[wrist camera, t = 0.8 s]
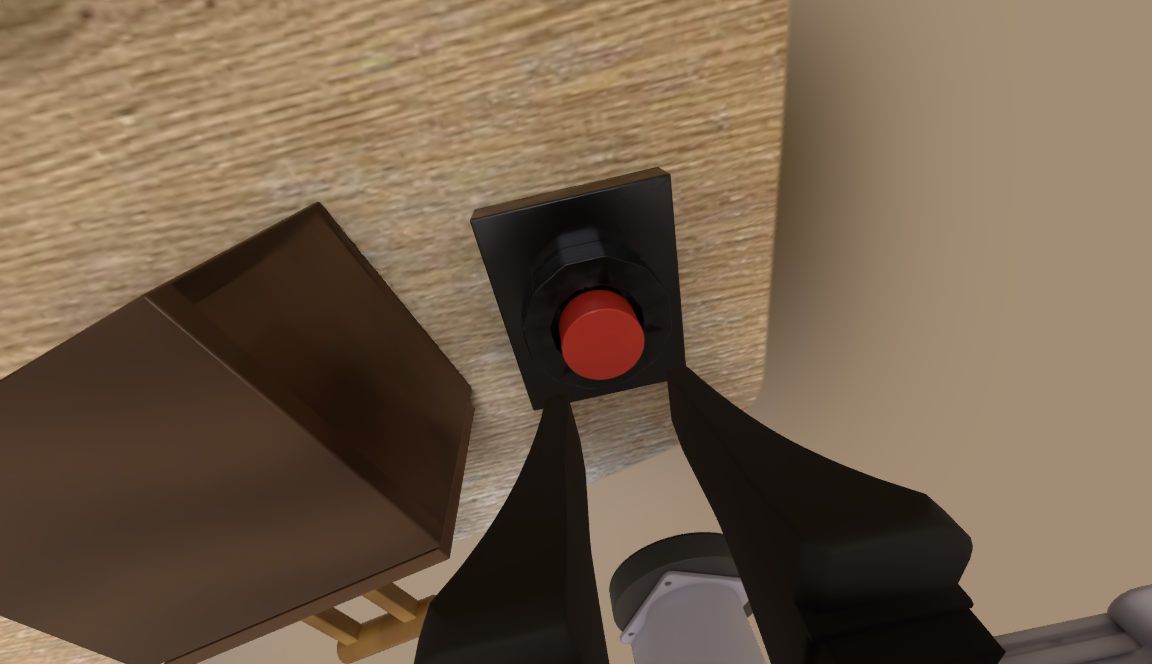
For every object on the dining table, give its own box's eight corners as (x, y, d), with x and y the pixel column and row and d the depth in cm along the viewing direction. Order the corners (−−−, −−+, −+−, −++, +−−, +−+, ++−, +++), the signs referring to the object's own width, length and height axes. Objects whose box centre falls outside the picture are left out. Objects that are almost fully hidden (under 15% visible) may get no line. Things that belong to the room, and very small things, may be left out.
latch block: (677, 358, 23) (699, 399, 20) (533, 390, 23) (533, 436, 20) (659, 166, 18) (685, 182, 15) (473, 209, 18) (463, 233, 15)
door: (523, 466, 25) (522, 619, 18) (344, 544, 27) (277, 711, 20) (467, 399, 22) (438, 549, 15) (272, 492, 24) (161, 665, 17)
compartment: (471, 387, 22) (441, 546, 15) (266, 486, 24) (143, 672, 17) (318, 201, 17) (142, 294, 9) (71, 347, 19) (-241, 524, 11)
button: (639, 347, 18) (649, 370, 17) (567, 363, 18) (571, 387, 17) (629, 281, 17) (639, 300, 15) (551, 299, 17) (553, 319, 15)
